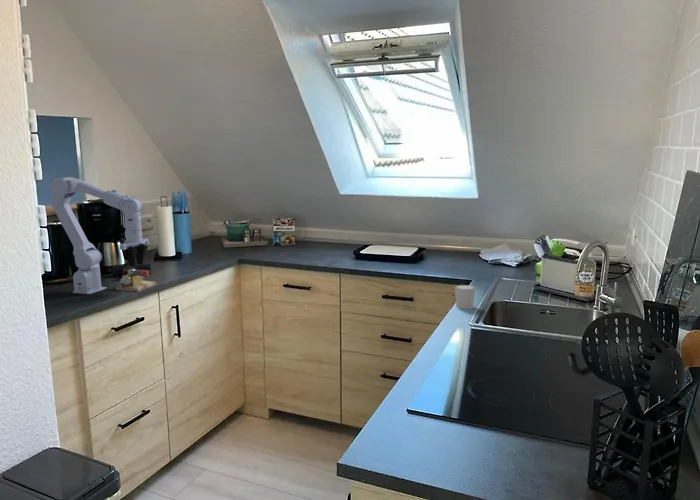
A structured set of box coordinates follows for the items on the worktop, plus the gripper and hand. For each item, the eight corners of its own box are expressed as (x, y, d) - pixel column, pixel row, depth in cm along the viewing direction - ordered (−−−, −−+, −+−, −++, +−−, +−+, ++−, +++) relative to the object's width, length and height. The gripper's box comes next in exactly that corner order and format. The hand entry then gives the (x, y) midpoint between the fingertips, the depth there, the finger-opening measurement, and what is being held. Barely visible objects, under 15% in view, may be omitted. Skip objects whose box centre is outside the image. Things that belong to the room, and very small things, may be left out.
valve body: (129, 287, 210) (128, 278, 209) (118, 286, 212) (118, 277, 211) (145, 281, 220) (145, 272, 219) (135, 281, 221) (135, 271, 220)
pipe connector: (147, 267, 227) (108, 269, 224) (147, 279, 228) (109, 281, 225) (150, 262, 238) (114, 264, 235) (151, 274, 239) (115, 276, 236)
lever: (126, 275, 214) (126, 270, 214) (131, 273, 217) (130, 268, 216) (145, 276, 211) (145, 271, 211) (150, 275, 214) (149, 270, 214)
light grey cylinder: (450, 305, 188) (450, 286, 187) (465, 302, 192) (465, 283, 190) (463, 310, 182) (464, 290, 181) (478, 307, 186) (479, 287, 185)
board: (137, 291, 208) (137, 288, 208) (115, 289, 211) (115, 287, 211) (157, 284, 219) (157, 281, 219) (136, 282, 222) (136, 280, 222)
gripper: (129, 233, 198) (132, 269, 200) (154, 227, 211) (156, 262, 214) (113, 232, 200) (116, 268, 202) (139, 227, 213) (141, 261, 216)
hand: (136, 265), depth 208 cm, fingers open, 4 cm apart
